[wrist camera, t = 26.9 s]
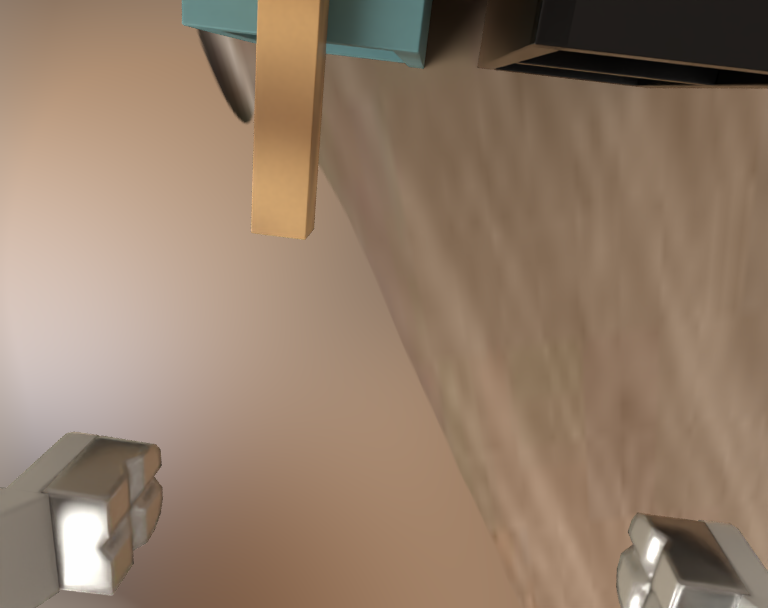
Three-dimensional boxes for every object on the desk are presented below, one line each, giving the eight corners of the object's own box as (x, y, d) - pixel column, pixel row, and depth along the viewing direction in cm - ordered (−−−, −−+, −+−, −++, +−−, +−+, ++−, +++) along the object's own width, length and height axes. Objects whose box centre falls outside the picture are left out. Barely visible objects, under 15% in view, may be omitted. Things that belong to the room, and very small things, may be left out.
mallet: (216, -184, 22) (170, -243, 18) (402, -165, 22) (396, -221, 18) (214, 217, 27) (177, 239, 23) (363, 235, 27) (352, 261, 23)
